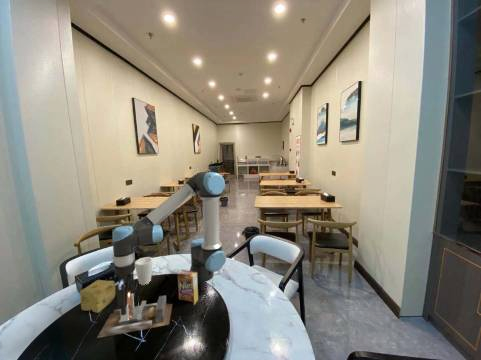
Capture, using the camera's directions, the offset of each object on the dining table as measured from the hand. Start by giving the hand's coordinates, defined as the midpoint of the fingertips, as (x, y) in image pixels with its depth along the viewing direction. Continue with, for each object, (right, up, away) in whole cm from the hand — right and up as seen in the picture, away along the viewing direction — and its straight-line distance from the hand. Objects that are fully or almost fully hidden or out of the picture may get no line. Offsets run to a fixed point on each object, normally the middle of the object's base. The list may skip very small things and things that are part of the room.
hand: (127, 314), depth 86 cm
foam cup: (-8, -3, +32) cm, 33 cm away
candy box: (+23, -3, +14) cm, 27 cm away
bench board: (+4, -4, +1) cm, 6 cm away
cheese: (-22, -4, +13) cm, 26 cm away
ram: (+2, -3, +1) cm, 3 cm away
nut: (+8, -2, +2) cm, 8 cm away
